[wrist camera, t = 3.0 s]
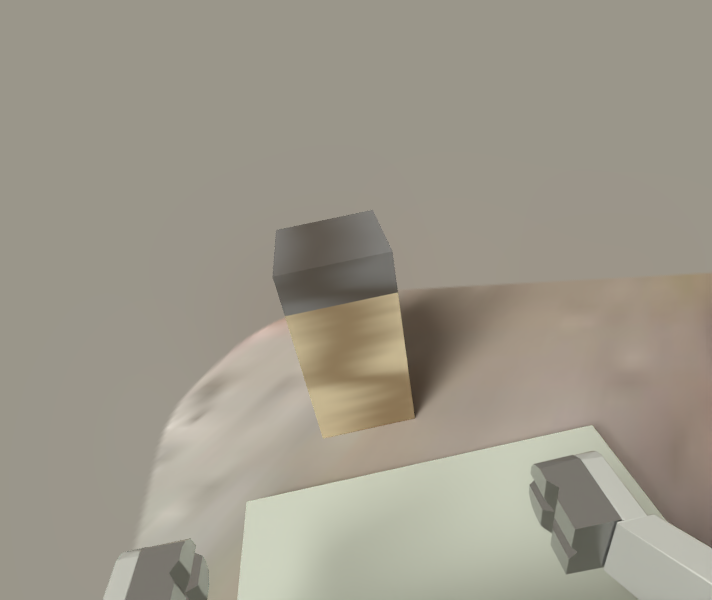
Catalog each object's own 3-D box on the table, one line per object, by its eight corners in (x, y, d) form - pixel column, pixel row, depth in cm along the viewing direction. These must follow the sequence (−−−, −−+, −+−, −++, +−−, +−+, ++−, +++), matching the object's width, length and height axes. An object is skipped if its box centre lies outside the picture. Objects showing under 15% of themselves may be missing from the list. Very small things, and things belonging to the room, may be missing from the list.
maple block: (395, 359, 27) (372, 210, 22) (414, 418, 23) (392, 251, 18) (318, 375, 27) (276, 230, 22) (323, 438, 23) (272, 276, 18)
